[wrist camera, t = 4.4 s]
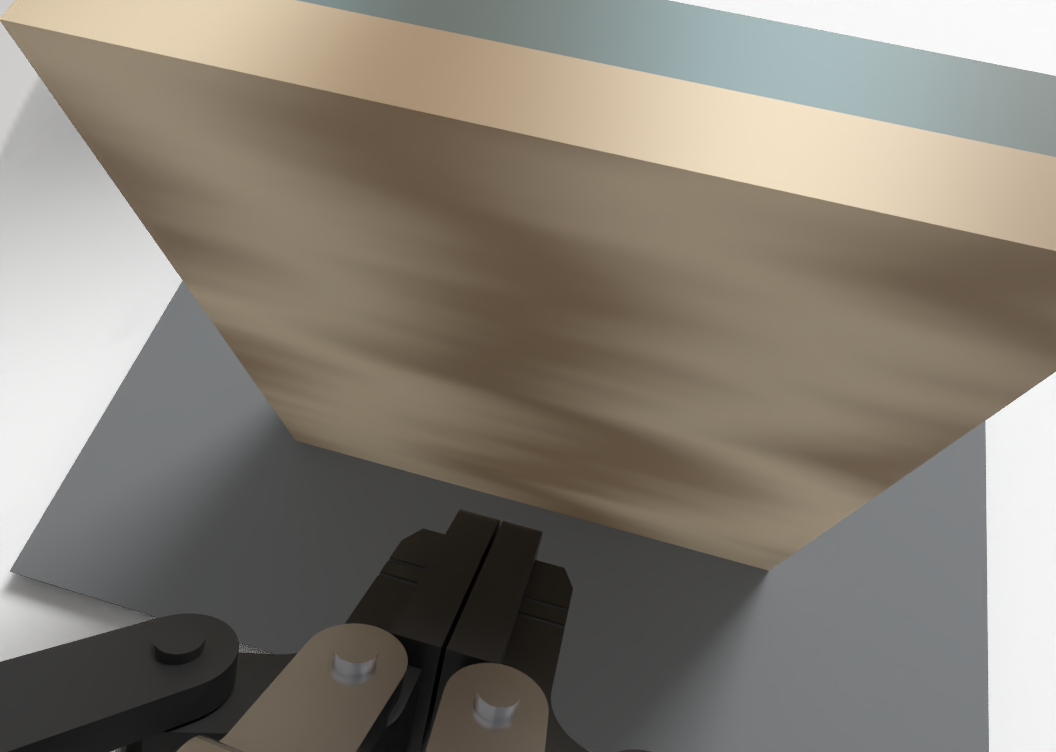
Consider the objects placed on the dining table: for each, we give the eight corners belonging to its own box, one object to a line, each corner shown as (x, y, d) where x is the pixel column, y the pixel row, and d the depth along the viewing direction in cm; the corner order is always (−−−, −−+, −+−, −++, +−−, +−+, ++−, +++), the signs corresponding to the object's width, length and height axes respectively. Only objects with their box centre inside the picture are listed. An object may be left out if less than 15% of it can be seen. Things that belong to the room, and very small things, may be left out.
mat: (975, 160, 24) (982, 151, 23) (978, 870, 15) (990, 873, 15) (341, 27, 26) (339, 17, 26) (20, 574, 17) (9, 571, 17)
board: (780, 477, 18) (1157, 96, 8) (768, 570, 17) (1187, 278, 7) (332, 360, 20) (114, -109, 9) (295, 440, 18) (-1, 18, 8)
